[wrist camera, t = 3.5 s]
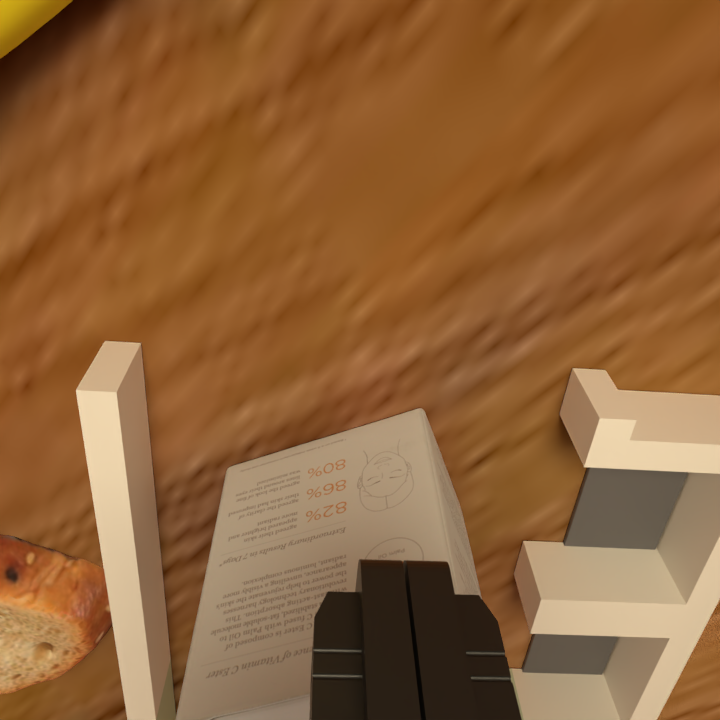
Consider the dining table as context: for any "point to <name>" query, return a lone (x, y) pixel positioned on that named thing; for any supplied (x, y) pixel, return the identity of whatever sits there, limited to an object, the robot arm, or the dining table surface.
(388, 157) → the dining table surface
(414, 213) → the dining table surface
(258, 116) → the dining table surface
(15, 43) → the banana
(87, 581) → the bread slice
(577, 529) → the channel
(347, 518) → the small box
